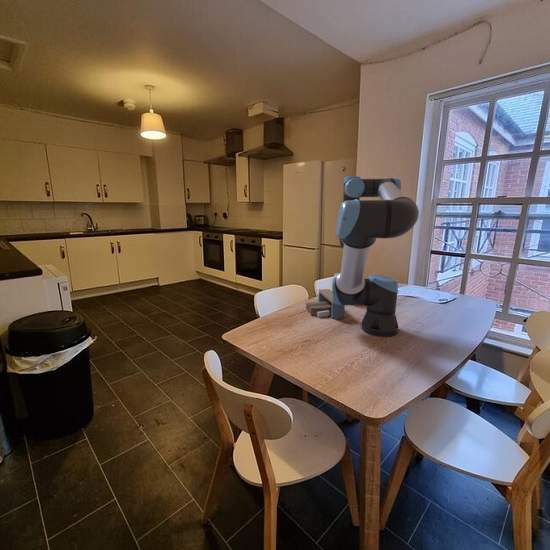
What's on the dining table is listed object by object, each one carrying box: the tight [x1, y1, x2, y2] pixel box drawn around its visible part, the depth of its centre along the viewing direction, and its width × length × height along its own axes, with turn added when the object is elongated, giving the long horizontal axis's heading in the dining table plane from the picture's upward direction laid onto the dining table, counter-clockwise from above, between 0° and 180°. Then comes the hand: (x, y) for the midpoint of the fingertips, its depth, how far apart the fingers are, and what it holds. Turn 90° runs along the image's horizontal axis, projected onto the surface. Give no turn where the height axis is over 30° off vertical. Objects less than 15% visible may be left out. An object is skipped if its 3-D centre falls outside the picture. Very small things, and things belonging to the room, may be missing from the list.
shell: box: [305, 301, 332, 316], centre depth 148 cm, size 9×12×4 cm
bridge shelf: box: [316, 288, 346, 319], centre depth 148 cm, size 20×12×9 cm, turn 11°
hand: (348, 261), depth 141 cm, fingers closed
